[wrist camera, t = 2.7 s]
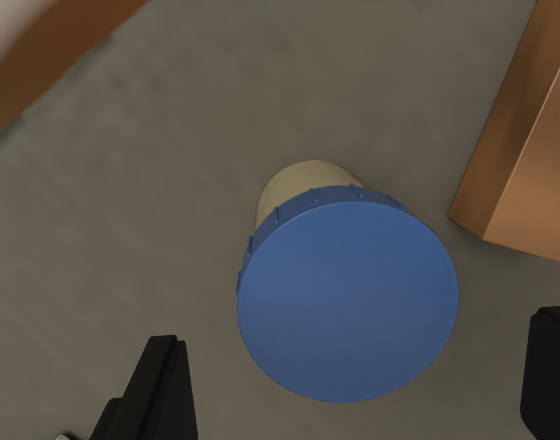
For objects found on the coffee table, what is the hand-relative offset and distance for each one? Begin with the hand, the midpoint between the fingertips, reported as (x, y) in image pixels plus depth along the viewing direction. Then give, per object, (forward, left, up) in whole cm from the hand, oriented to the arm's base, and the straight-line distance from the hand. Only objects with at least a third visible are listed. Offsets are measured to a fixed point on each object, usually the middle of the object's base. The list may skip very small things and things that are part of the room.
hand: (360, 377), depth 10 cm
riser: (-8, +9, -14) cm, 18 cm away
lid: (0, 0, -3) cm, 4 cm away
